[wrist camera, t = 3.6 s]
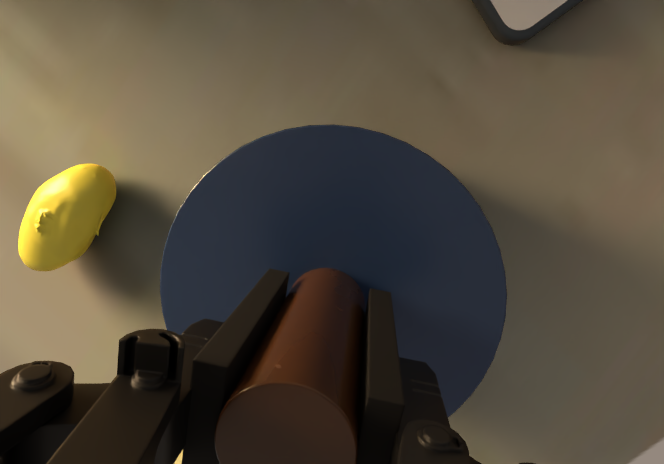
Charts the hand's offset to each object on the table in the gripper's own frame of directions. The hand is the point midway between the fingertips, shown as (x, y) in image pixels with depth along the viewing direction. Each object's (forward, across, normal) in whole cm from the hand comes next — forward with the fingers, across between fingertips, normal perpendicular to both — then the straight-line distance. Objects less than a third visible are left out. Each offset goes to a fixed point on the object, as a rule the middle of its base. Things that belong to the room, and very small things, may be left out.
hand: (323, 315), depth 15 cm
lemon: (+11, -17, -1) cm, 20 cm away
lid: (+2, 0, 0) cm, 2 cm away
